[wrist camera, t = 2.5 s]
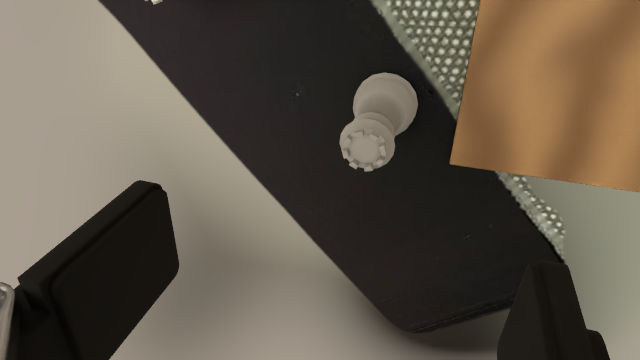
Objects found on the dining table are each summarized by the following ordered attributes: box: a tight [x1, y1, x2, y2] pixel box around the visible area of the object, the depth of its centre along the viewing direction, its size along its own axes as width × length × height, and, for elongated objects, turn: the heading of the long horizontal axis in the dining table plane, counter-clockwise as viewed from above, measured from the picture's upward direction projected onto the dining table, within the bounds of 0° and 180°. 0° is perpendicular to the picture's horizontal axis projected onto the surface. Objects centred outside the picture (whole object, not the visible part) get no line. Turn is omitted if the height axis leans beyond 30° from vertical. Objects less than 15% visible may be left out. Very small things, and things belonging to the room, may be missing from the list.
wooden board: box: [450, 0, 640, 192], centre depth 25 cm, size 16×20×1 cm
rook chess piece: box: [340, 73, 418, 171], centre depth 28 cm, size 4×4×8 cm
